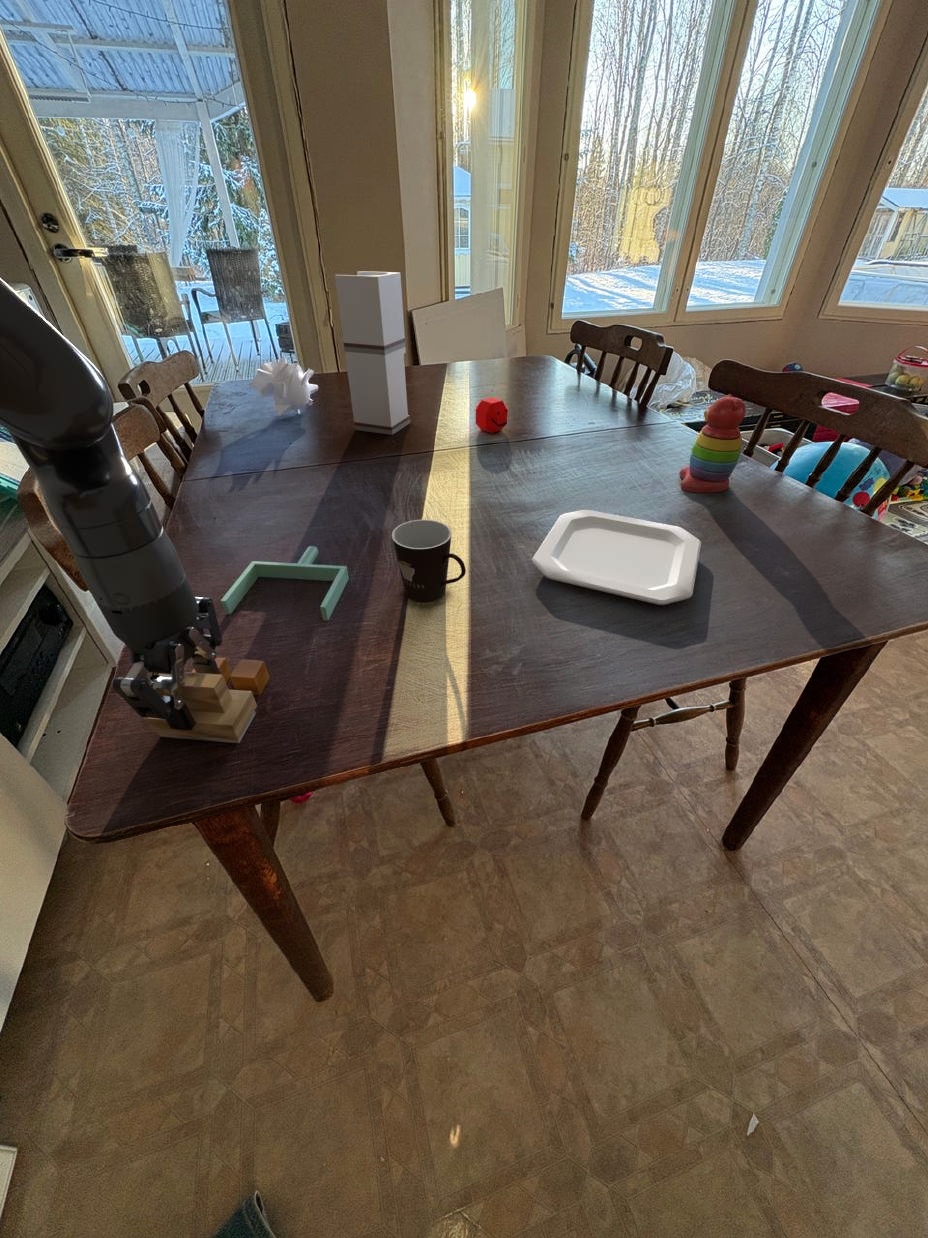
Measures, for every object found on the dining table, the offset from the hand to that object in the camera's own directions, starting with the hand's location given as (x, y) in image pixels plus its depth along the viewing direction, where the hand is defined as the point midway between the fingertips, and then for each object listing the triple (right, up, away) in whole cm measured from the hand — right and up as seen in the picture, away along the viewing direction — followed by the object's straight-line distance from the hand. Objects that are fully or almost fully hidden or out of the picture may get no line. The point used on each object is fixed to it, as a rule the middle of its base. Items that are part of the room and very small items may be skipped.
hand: (199, 705), depth 57 cm
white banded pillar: (+7, +63, +84) cm, 105 cm away
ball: (+37, +61, +81) cm, 108 cm away
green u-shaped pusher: (+3, +15, +24) cm, 29 cm away
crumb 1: (-2, +2, +7) cm, 8 cm away
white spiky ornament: (-22, +71, +94) cm, 120 cm away
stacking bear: (+81, +39, +54) cm, 105 cm away
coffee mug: (+24, +13, +22) cm, 35 cm away
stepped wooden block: (0, -3, +2) cm, 3 cm away
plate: (+55, +19, +30) cm, 66 cm away
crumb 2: (+3, +1, +7) cm, 8 cm away
